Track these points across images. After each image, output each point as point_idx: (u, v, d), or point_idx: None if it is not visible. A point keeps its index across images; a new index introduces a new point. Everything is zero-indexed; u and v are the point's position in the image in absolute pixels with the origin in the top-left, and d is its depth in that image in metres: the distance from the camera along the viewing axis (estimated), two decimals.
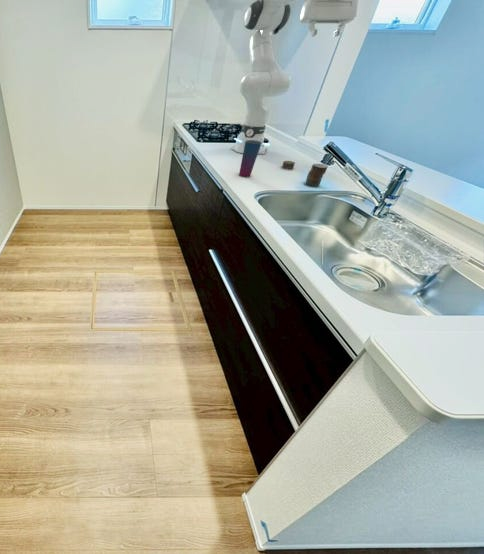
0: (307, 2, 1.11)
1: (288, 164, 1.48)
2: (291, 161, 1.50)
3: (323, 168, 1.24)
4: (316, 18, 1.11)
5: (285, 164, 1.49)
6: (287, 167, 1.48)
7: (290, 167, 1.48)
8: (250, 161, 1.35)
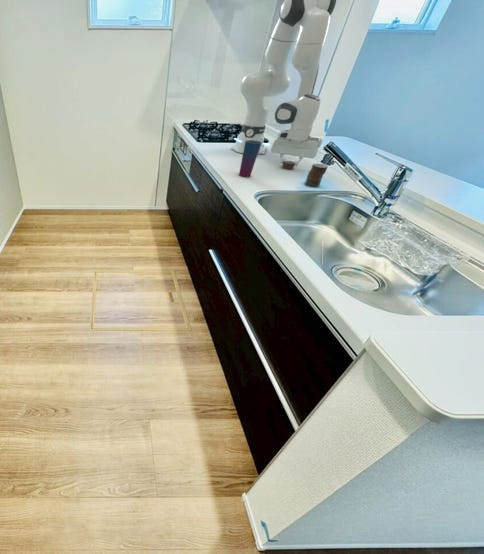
0: (275, 140, 1.48)
1: (288, 164, 1.48)
2: (291, 161, 1.50)
3: (323, 168, 1.24)
4: (279, 153, 1.48)
5: (285, 164, 1.49)
6: (287, 167, 1.48)
7: (290, 167, 1.48)
8: (250, 161, 1.35)
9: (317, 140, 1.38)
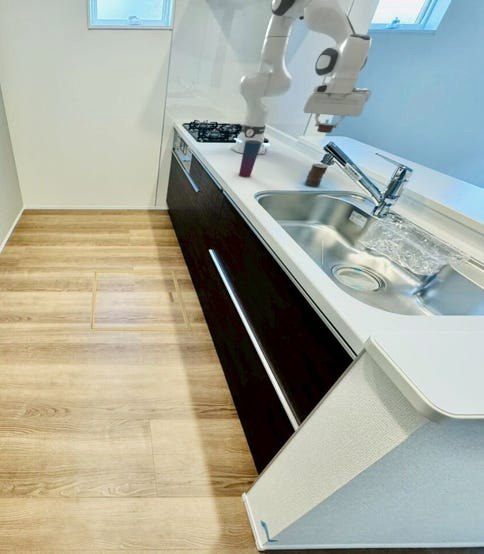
0: (309, 97, 1.21)
1: (326, 126, 1.21)
2: None
3: (323, 168, 1.24)
4: (314, 113, 1.22)
5: (322, 126, 1.22)
6: (324, 130, 1.22)
7: (328, 130, 1.22)
8: (250, 161, 1.35)
9: (365, 93, 1.12)
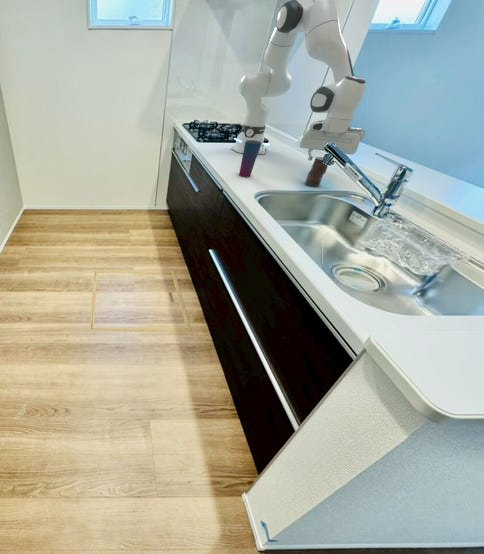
0: (305, 133, 1.23)
1: (321, 161, 1.23)
2: None
3: (323, 168, 1.24)
4: (310, 148, 1.24)
5: (318, 161, 1.24)
6: (320, 164, 1.24)
7: (324, 164, 1.24)
8: (250, 161, 1.35)
9: (359, 132, 1.14)
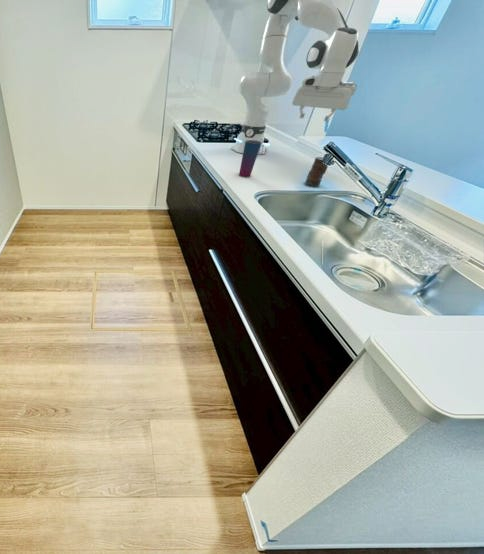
0: (298, 89, 1.24)
1: (321, 161, 1.23)
2: None
3: (323, 168, 1.24)
4: (302, 105, 1.25)
5: (318, 161, 1.24)
6: (320, 164, 1.24)
7: (324, 164, 1.24)
8: (250, 161, 1.35)
9: (351, 86, 1.14)
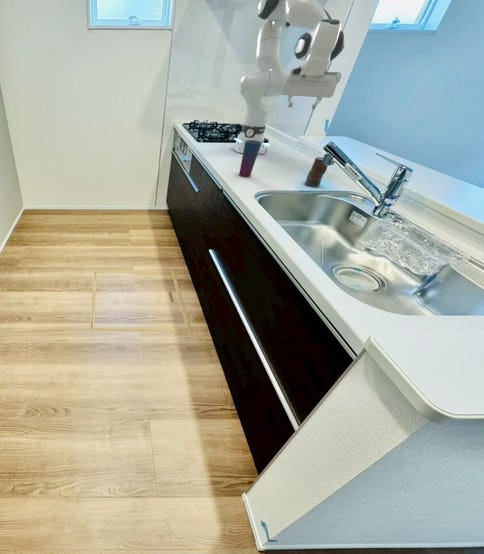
0: (286, 79, 1.29)
1: (321, 161, 1.23)
2: None
3: (323, 168, 1.24)
4: (290, 94, 1.30)
5: (318, 161, 1.24)
6: (320, 164, 1.24)
7: (324, 164, 1.24)
8: (250, 161, 1.35)
9: (335, 75, 1.20)
